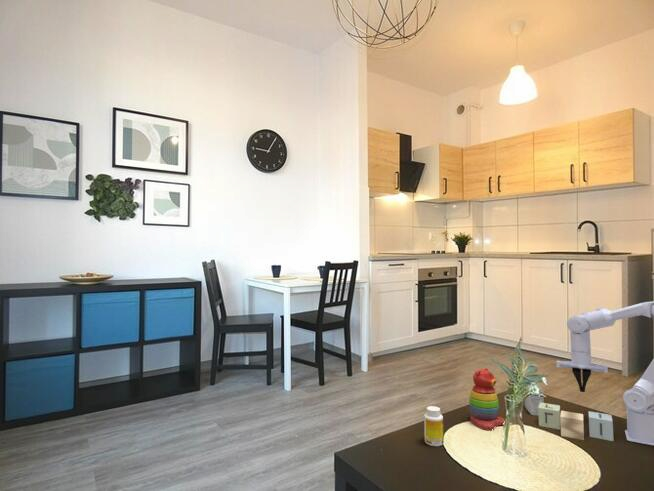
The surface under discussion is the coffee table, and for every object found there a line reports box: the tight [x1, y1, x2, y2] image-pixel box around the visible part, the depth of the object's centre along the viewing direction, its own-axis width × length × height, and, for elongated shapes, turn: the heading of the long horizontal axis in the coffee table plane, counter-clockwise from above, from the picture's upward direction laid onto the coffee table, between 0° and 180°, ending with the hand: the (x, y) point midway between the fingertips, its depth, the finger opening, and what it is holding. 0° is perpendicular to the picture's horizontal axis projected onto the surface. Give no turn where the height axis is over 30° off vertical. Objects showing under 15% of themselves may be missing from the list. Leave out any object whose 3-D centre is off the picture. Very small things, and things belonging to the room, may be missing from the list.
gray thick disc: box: [524, 389, 545, 417], centre depth 142 cm, size 8×4×9 cm, turn 168°
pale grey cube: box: [588, 410, 615, 442], centre depth 122 cm, size 6×6×6 cm
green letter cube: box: [538, 402, 561, 431], centre depth 131 cm, size 6×6×6 cm
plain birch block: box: [560, 410, 585, 441], centre depth 123 cm, size 6×6×6 cm
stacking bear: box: [468, 367, 506, 431], centre depth 133 cm, size 11×10×18 cm
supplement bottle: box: [423, 405, 444, 447], centre depth 118 cm, size 6×6×10 cm
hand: (582, 391), depth 133 cm, fingers closed
